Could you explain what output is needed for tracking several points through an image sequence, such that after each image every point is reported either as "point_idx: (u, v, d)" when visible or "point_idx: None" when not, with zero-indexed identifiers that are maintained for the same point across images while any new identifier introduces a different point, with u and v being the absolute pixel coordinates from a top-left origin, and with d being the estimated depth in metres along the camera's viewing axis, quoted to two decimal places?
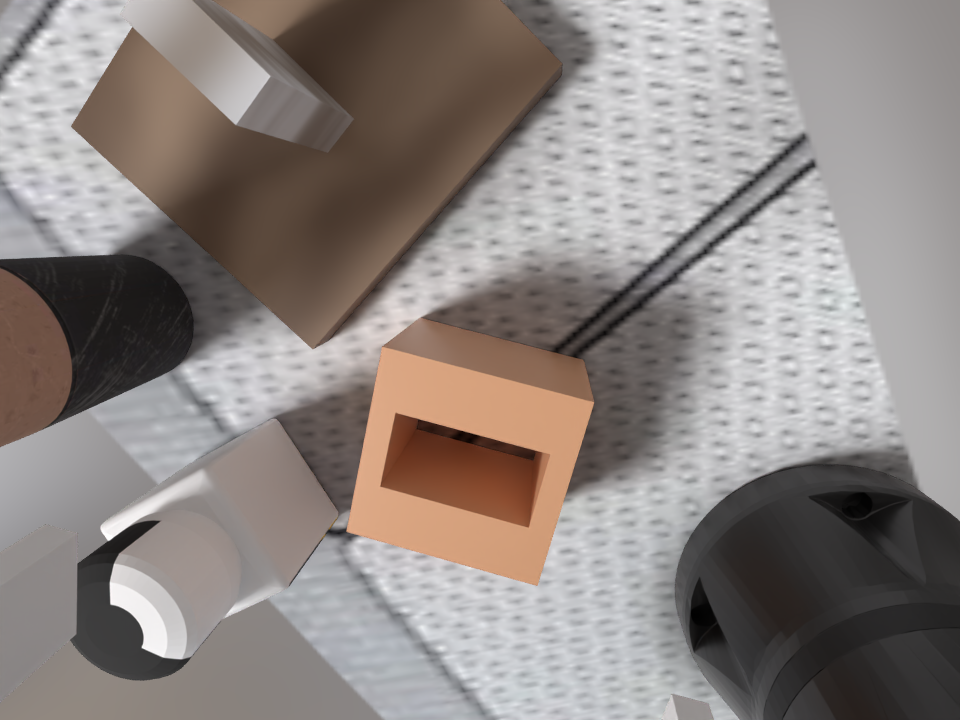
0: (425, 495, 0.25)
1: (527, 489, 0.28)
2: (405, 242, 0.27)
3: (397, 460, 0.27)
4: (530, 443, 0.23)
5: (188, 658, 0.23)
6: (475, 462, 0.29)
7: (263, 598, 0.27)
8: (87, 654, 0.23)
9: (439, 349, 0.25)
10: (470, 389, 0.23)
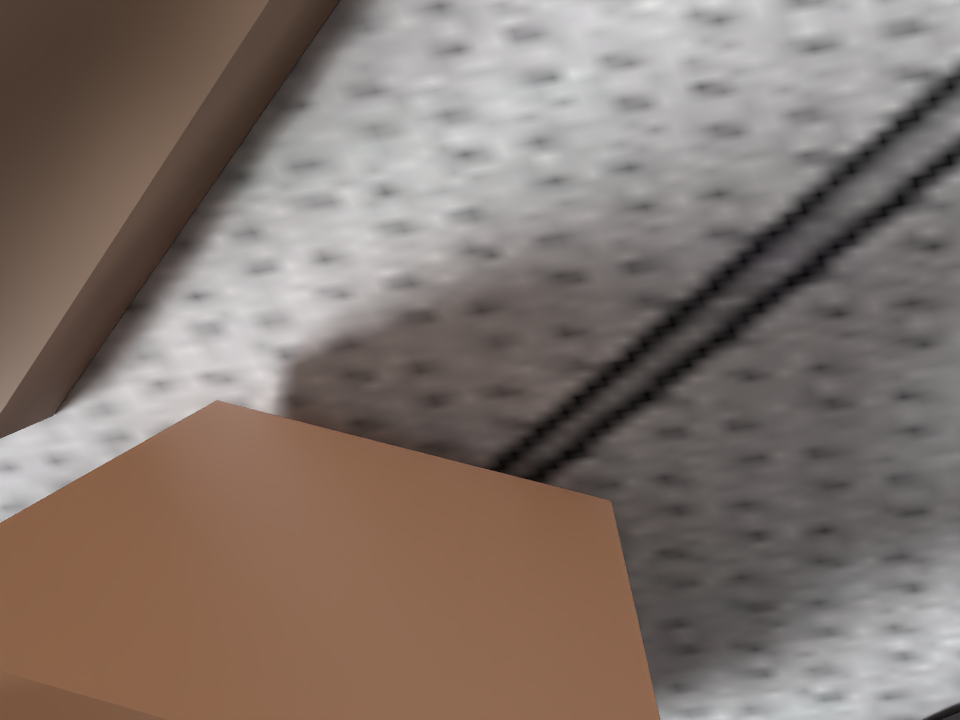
0: None
1: None
2: (144, 190, 0.11)
3: None
4: None
5: None
6: None
7: None
8: None
9: (143, 565, 0.07)
10: None
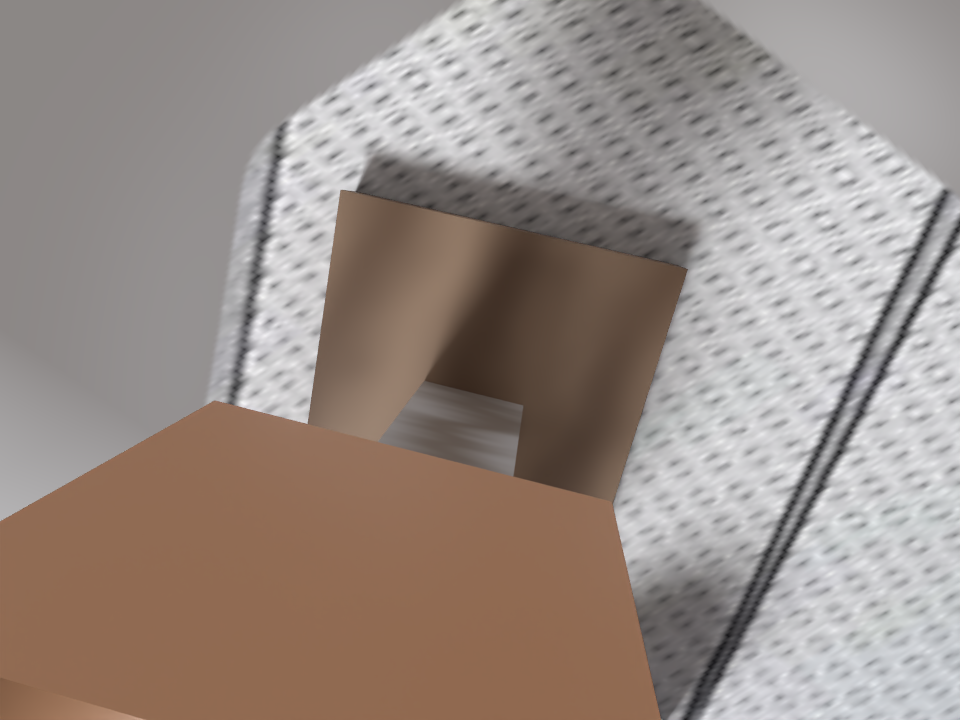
0: None
1: None
2: (619, 479, 0.27)
3: None
4: None
5: None
6: None
7: None
8: None
9: (139, 567, 0.07)
10: None
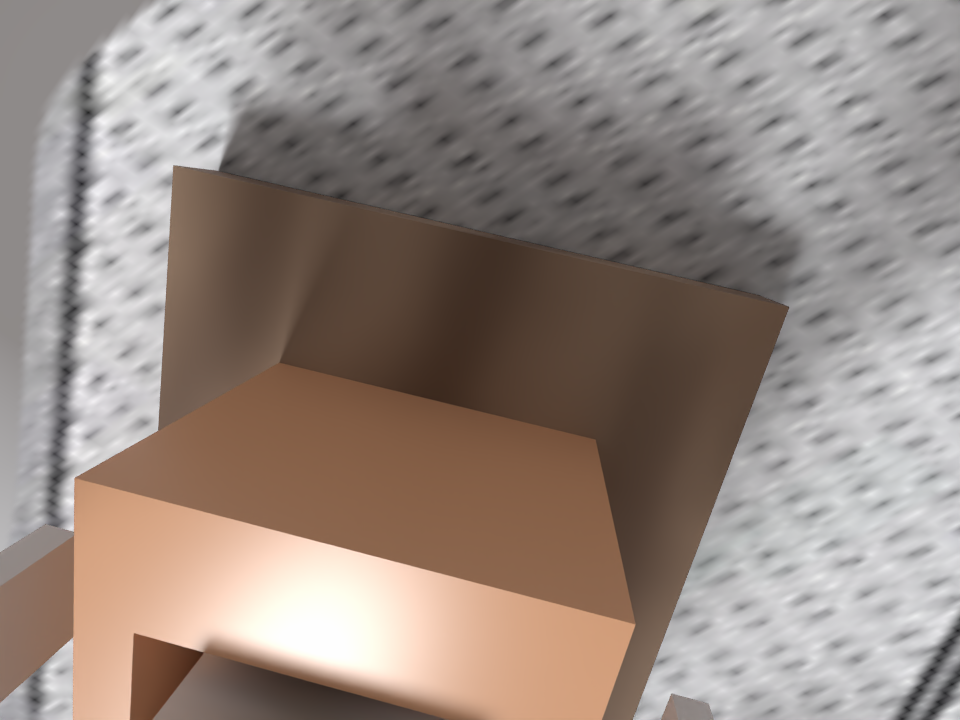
0: None
1: None
2: (657, 647, 0.17)
3: None
4: (470, 713, 0.09)
5: None
6: None
7: None
8: None
9: (258, 460, 0.10)
10: (308, 586, 0.09)
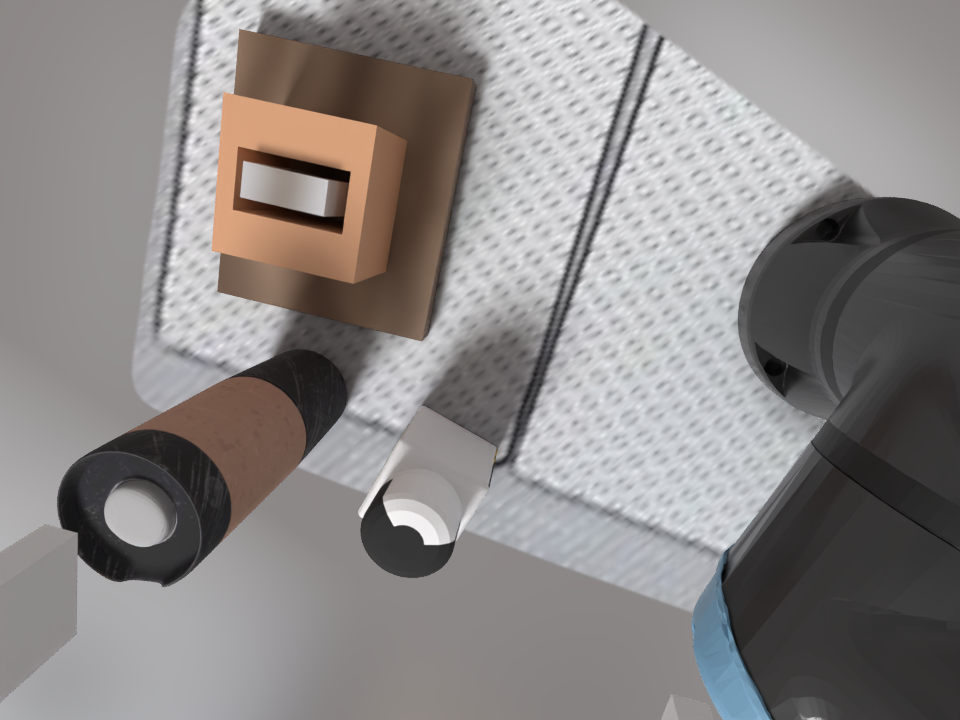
0: (267, 217, 0.33)
1: None
2: (441, 240, 0.39)
3: (256, 209, 0.36)
4: (336, 163, 0.32)
5: (453, 542, 0.34)
6: (324, 221, 0.37)
7: (477, 504, 0.38)
8: (396, 568, 0.35)
9: None
10: (289, 122, 0.31)
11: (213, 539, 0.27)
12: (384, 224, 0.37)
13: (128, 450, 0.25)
